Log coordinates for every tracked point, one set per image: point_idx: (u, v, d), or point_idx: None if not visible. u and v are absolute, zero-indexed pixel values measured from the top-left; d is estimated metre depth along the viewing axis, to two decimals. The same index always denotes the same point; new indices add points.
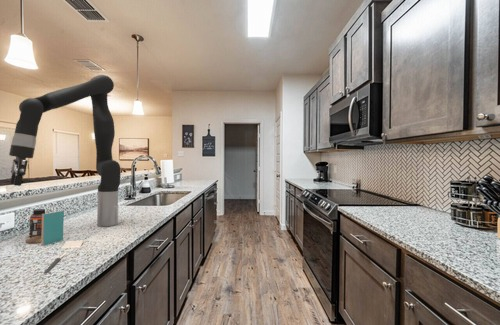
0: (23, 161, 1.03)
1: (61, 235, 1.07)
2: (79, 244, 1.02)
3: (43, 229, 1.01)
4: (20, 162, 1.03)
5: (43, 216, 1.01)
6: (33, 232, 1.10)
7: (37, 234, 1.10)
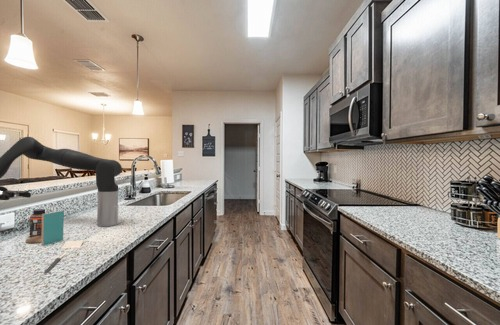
0: None
1: (61, 235, 1.07)
2: (79, 244, 1.02)
3: (43, 229, 1.01)
4: None
5: (43, 216, 1.01)
6: (33, 232, 1.10)
7: (37, 234, 1.10)
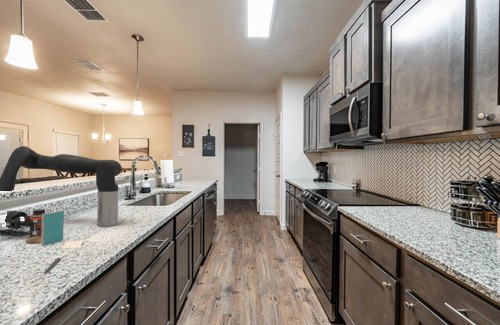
0: (6, 224, 1.08)
1: (61, 235, 1.07)
2: (79, 244, 1.02)
3: (43, 229, 1.01)
4: (7, 226, 1.08)
5: (43, 216, 1.01)
6: (33, 232, 1.10)
7: (37, 234, 1.10)
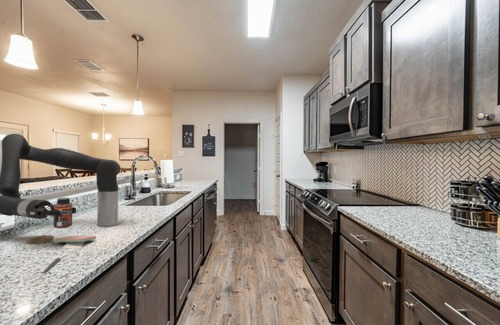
0: (30, 213, 0.98)
1: None
2: (80, 244, 1.02)
3: (67, 241, 1.01)
4: (32, 215, 0.98)
5: (79, 240, 1.00)
6: (58, 223, 1.00)
7: (62, 225, 1.01)
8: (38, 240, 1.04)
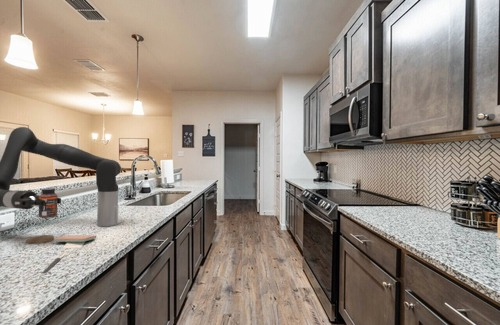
0: (15, 203, 1.01)
1: None
2: (81, 244, 1.02)
3: (68, 240, 1.02)
4: (17, 205, 1.01)
5: (81, 240, 1.02)
6: (43, 213, 1.03)
7: (47, 215, 1.03)
8: (38, 240, 1.04)
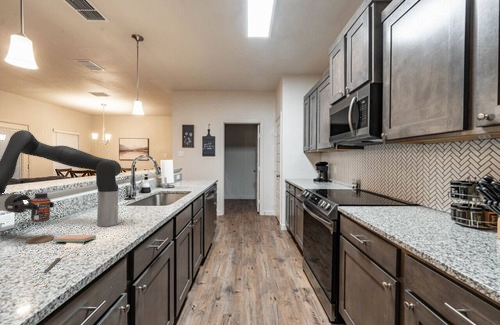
0: (8, 207, 1.02)
1: None
2: (80, 244, 1.02)
3: (68, 240, 1.03)
4: (9, 209, 1.02)
5: (81, 240, 1.03)
6: (35, 217, 1.04)
7: (39, 219, 1.04)
8: (38, 240, 1.04)
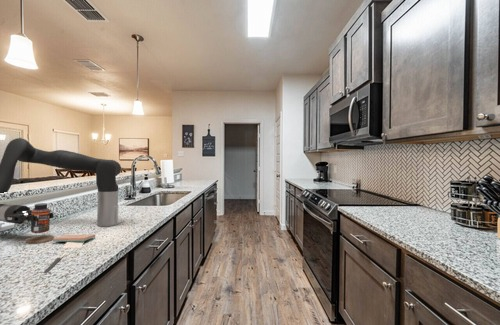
0: (8, 218, 1.02)
1: None
2: (80, 244, 1.02)
3: (68, 240, 1.03)
4: (9, 220, 1.02)
5: (81, 240, 1.03)
6: (35, 228, 1.04)
7: (38, 230, 1.04)
8: (38, 240, 1.04)
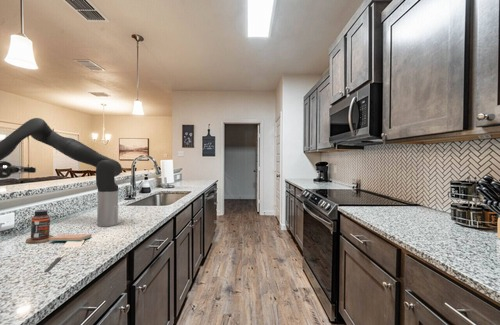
0: None
1: None
2: (80, 243, 1.02)
3: (65, 239, 1.04)
4: None
5: (78, 239, 1.04)
6: (35, 235, 1.04)
7: (39, 237, 1.04)
8: (38, 240, 1.04)
